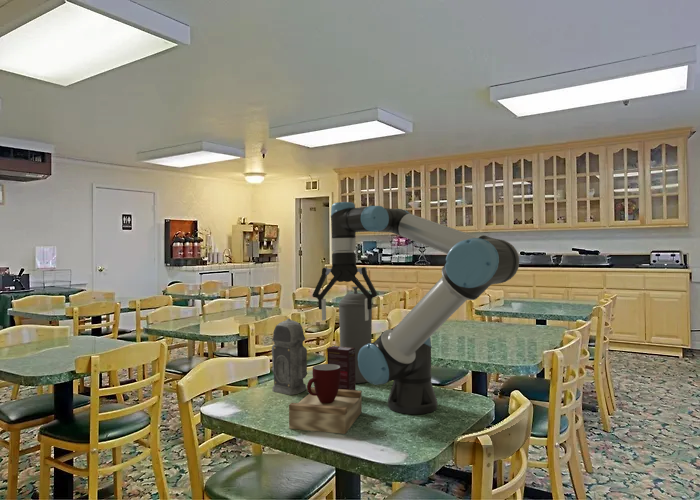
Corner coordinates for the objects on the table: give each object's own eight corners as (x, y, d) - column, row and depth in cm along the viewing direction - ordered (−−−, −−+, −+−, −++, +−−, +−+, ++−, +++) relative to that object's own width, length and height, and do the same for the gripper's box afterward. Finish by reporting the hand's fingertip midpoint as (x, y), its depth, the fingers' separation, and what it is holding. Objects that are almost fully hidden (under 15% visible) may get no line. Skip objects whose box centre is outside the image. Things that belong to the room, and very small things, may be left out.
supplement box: (356, 394, 170) (355, 347, 169) (349, 398, 165) (348, 350, 165) (334, 391, 174) (334, 345, 174) (326, 394, 170) (326, 347, 170)
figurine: (296, 396, 168) (296, 321, 167) (265, 390, 176) (265, 318, 176) (314, 389, 176) (314, 318, 175) (284, 383, 184) (283, 315, 184)
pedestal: (361, 412, 151) (361, 390, 151) (345, 433, 134) (344, 409, 134) (311, 408, 156) (311, 387, 155) (289, 428, 138) (288, 404, 138)
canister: (334, 383, 183) (334, 287, 183) (344, 374, 196) (343, 285, 196) (368, 385, 180) (368, 288, 180) (376, 376, 192) (375, 285, 192)
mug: (319, 409, 138) (319, 373, 138) (300, 403, 144) (300, 368, 144) (346, 401, 146) (346, 366, 146) (327, 395, 152) (327, 362, 151)
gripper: (384, 251, 159) (386, 318, 159) (308, 252, 163) (309, 318, 163) (382, 251, 151) (383, 321, 151) (302, 252, 156) (303, 321, 156)
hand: (345, 320), depth 157 cm, fingers open, 13 cm apart
